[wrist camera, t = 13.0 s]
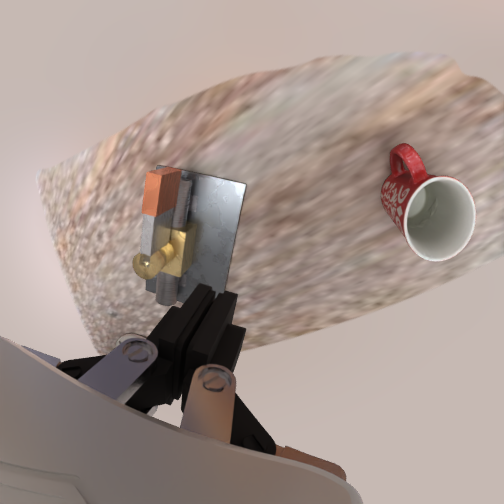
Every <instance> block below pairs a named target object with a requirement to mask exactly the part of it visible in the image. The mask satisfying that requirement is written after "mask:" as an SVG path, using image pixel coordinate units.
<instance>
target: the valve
mask: <svg viewBox="0 0 504 504" xmlns="http://www.w3.org/2000/svg"><path fill="white" fill-rule="evenodd" d="M162 168H166V167H165V166H160V165H157V167H156V170H157V169H162ZM245 189H246V184H244V183H240V182H236V181H232V180H227V179H223V178H218V177H214V176H209V175H205V174H200V173H195V172H190V171H186V170H182V173H181V179H180V185H179V191H178V197H177V203H176V206H175V207H174V210H173V216H172V223H171V231H170V238H169V243H170V244H171V245H172V247H173V249H174V258H173V259H172V260H171V261H170V262H169V263H168V264H167V265H166V266H165V267H164V268H163V269H162V270H161V271H160V272H159V273H158V274H156V275H155V276H154V277H153V278H152V279H146V290H147V291H150V292H153V293H156V301H157V303H159V304H161V305H164V306H170V305H174V304H175V303H176V302H177V301H179V302H182V303H185V301H186V300H187V299H188V297H189V296H190V295H191V293H192V292H193V291H194V289H195V288H196V287H197V285H198V284H199V283H202V284H205V285H208V286H212V290H213V291H216V296H215V299H216V297H217V295H218V294H219V292H220V293H224V291H225V286H226V281H227V276H228V271H229V266H230V261H231V256H232V251H233V246H234V241H235V237H236V232H237V227H238V222H239V217H240V213H241V208H242V203H243V198H244V194H245Z"/></svg>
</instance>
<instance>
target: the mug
mask: <svg viewBox="0 0 504 504" xmlns="http://www.w3.org/2000/svg"><path fill="white" fill-rule="evenodd" d="M403 161H404V162H405V164H406V166H407V167H408V169H409V171H408V170H405V169H404V166H403ZM390 166H391V171H392V174H391V175H390V176H389V177H388V178H387V179H386V180H385V182H384V184H383V187H382V190H381V200H382V204H383V207H384V209H385V210H386V212H387V213H388V215H389V216H390V217H391V218H392V220H393V221H394V223H395V224H396V225H397V227H398V228H399V229H400V231H401V232H402V234H403V235H404V237H405V238H406V241H407V243H408V245H409V247H410V248H411V249H412V251H413V252H414V253H415V254H417V255H418V256H419V257H421V258H422V259H425V260H428V261H444V260H447V259H450V258H452V257H454V256H455V255H457V254H458V253H459V252H460V251H461V250H462V249H463V248H464V247H465V246H466V245H467V243H468V242H469V240H470V238H471V236H472V234H473V231H474V228H475V223H476V208H475V203H474V200H473V197H472V195H471V193H470V191H469V190H468V188H467V187H466V186H465V185H464V184H463V183H462V182H460V181H459V180H457V179H455V178H453V177H449V176H435V175H429V174H427V172H426V169H425V166H424V164H423V162H422V160H421V158H420V157H419V155H418V153H417V152H416V151H415V150H414V148H413V147H412V146H410V145H408V144H406V143H402V144H399V145H397V146H396V147H394V148H393V149H392V150H391V152H390Z"/></svg>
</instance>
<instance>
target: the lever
mask: <svg viewBox="0 0 504 504" xmlns="http://www.w3.org/2000/svg"><path fill="white" fill-rule="evenodd" d="M181 173H182V170H181V169H176V168H172V167H166V168H162V169H157V170H153V171H149V172H147V174H146V181H145V189H144V197H143V205H142V213H143V214H144V216H143V226H142V236H141V249H140V253H139V254H137V255H136V256H135V257H134V259H133V268H134V271H135V272H136V274H137V275H138V276H139V277H141V278H143V279H152V278H153V277H154V276H155V275H156V274H158V273H159V272H160V271H161V270H162V269H163V268H164V267H165V266H166V265H167V264H168V263H169V262H170V261H171V260H172V259H173V258H174V249H173V247H172V245H171V244H170V243H169V238H170V231H171V223H172V216H173V210H174V207H175V206H176V203H177V197H178V191H179V185H180V179H181Z"/></svg>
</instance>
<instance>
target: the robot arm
mask: <svg viewBox="0 0 504 504" xmlns="http://www.w3.org/2000/svg"><path fill="white" fill-rule="evenodd" d="M215 296H216V291H213V290H212V286H208V285H205V284H202V283H199V284H198V285H197V287H196V288H195V289H194V291H193V292H192V293H191V295H190V296H189V297H188V299H187V300H186V301H185V303H184V304H183V305H182V307H181V308H178V307H176V306H172V307H171V308H170V309H169V311H168V312H167V313H166V314H165V316H164V317H163V318H162V319H161V321H160V322H159V323H158V325H157V326H156V327H155V328H154V330H153V331H152V332H151V333H150V335H149V336H148V337H147V339H146V338H144V337H142V336H140V335H136V334H125V335H123V336H121V337H120V338H119V339H118V341H117V343H116V348H115V349H113V350H112V351H111V352H110V353H109V354H108V355H102V356H96V357H89V358H81V359H74V360H68V361H64V362H61V360H60V359H58V358H56V357H53V356H50V355H47V354H44V353H41V352H39V351H36V350H33V349H31V348H28V347H25V346H20V345H18V344H16V343H15V342H13V341H11V340H9V339H6V338H4V337H1V336H0V504H363V502H362V499H361V497H360V495H359V493H358V491H357V490H356V489H355V488H354V487H353V486H351V485H350V484H349V483H347V482H346V474H345V472H344V470H343V469H342V468H341V467H340V466H339V465H336V464H335V463H332V462H329V461H326V460H323V459H320V458H317V457H315V456H311V455H309V454H306V453H304V452H301V451H298V450H296V449H293V448H291V447H288V446H285V448H284V447H281V446H279V445H276V444H275V442H274V440H273V439H272V437H271V436H270V435H269V434H268V433H267V431H266V430H265V429H264V428H263V427H262V425H261V424H260V423H259V422H258V420H257V419H256V418H255V417H254V416H253V414H252V413H251V412H250V411H249V409H248V408H247V407H246V406H245V404H244V403H243V402H242V400H241V399H240V398H239V396H238V395H237V394H236V393H235V391H236V378H235V376H234V374H233V372H234V369H235V366H236V363H237V360H238V357H239V354H240V350H241V347H242V344H243V340H244V336H245V332H246V328H243V327H239V326H236V325H232V319H233V315H234V310H235V306H236V302H237V297H238V294H235V293H232V292H229V291H224V293H220V292H219V294H218V295H217V297H216V299H215ZM181 394H182V404H181V410H182V412H183V417H182V421H181V425H180V428H179V427H177V426H174V425H171V424H169V423H166V422H164V421H161V420H159V419H156V418H154V417H152V416H153V414H154V413H155V412H156V410H157V407H158V405H162V404H165V403H166V404H168V405H171V404H172V402H173V400H174V399H176V400H179V398H180V396H181Z"/></svg>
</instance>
